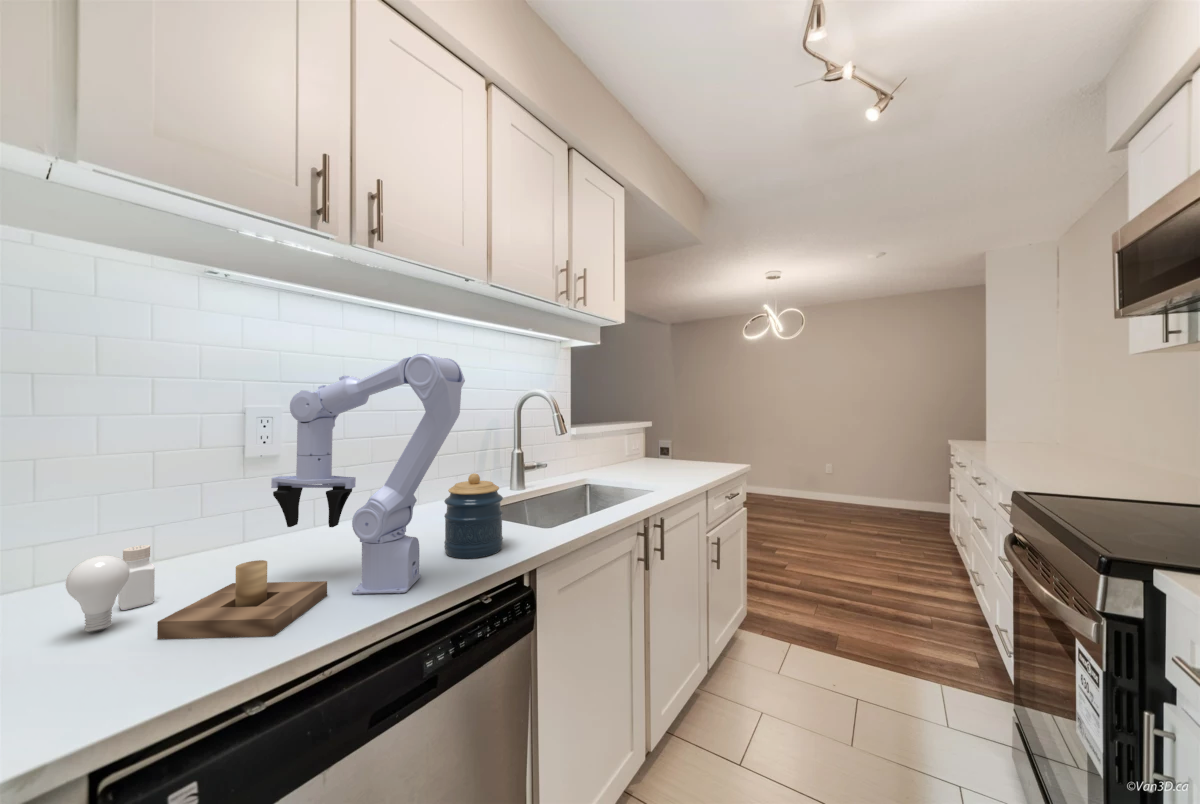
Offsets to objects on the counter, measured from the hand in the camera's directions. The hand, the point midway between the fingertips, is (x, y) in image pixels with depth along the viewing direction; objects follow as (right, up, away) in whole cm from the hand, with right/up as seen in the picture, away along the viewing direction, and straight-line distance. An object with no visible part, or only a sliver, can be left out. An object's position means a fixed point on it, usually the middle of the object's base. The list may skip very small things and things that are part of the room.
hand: (313, 525), depth 86 cm
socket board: (-1, -10, -14) cm, 18 cm away
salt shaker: (-23, -11, -10) cm, 27 cm away
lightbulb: (-20, -11, -19) cm, 29 cm away
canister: (+26, -11, +18) cm, 33 cm away
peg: (-1, -10, -14) cm, 18 cm away
